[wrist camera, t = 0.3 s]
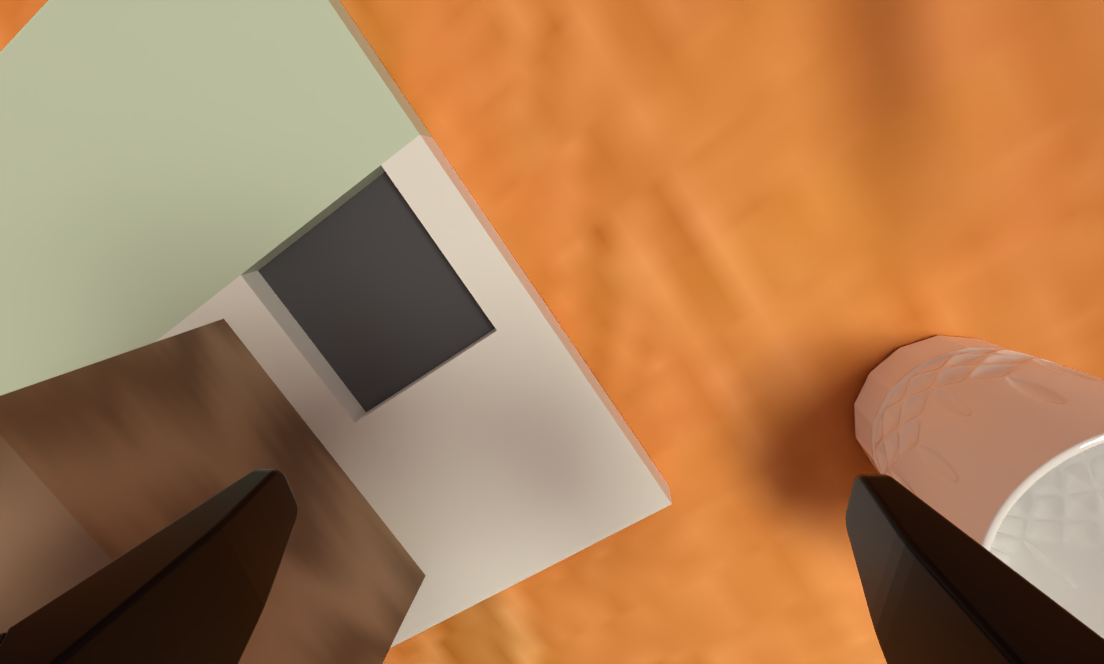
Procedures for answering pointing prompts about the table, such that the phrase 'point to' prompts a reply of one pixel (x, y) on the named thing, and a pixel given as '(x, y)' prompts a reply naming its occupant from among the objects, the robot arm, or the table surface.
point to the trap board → (304, 272)
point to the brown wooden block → (191, 492)
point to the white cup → (999, 456)
